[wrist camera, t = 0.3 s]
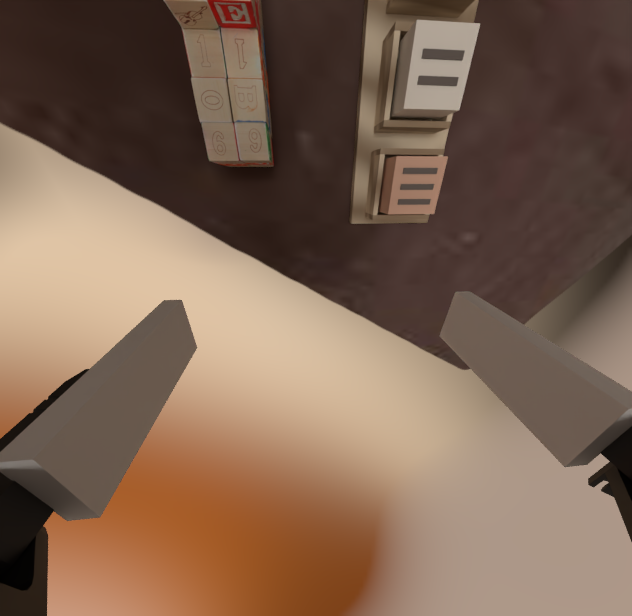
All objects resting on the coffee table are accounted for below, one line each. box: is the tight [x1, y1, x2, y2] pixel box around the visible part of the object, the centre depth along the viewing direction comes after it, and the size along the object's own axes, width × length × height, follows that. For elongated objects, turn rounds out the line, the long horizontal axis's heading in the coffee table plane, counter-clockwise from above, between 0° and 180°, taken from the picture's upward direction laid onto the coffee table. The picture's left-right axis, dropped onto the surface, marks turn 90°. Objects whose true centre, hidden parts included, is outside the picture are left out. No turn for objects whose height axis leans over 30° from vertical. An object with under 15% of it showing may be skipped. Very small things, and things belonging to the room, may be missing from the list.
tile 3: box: [379, 156, 448, 214], centre depth 28 cm, size 6×6×4 cm
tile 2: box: [391, 20, 480, 119], centre depth 23 cm, size 6×6×4 cm
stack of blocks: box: [163, 0, 274, 167], centre depth 20 cm, size 21×6×12 cm, turn 0°
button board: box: [349, 0, 479, 224], centre depth 26 cm, size 30×12×5 cm, turn 0°
